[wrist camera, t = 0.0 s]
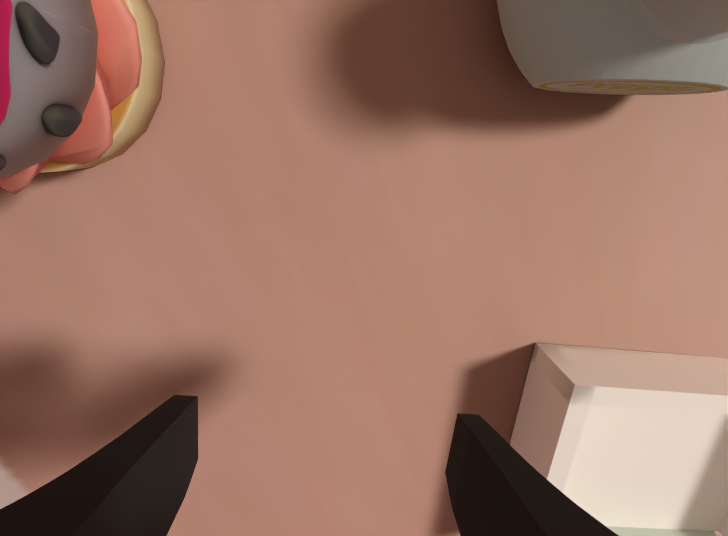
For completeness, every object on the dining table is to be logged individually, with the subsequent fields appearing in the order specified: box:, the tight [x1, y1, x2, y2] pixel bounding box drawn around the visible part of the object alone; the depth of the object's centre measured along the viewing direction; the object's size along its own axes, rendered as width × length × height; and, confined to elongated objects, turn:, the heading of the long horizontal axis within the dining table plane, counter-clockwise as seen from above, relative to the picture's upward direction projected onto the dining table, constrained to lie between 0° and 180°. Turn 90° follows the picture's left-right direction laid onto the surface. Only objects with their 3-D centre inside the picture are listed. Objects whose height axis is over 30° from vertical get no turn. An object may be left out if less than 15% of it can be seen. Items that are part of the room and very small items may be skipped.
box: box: [509, 343, 728, 536], centre depth 23 cm, size 12×16×4 cm
